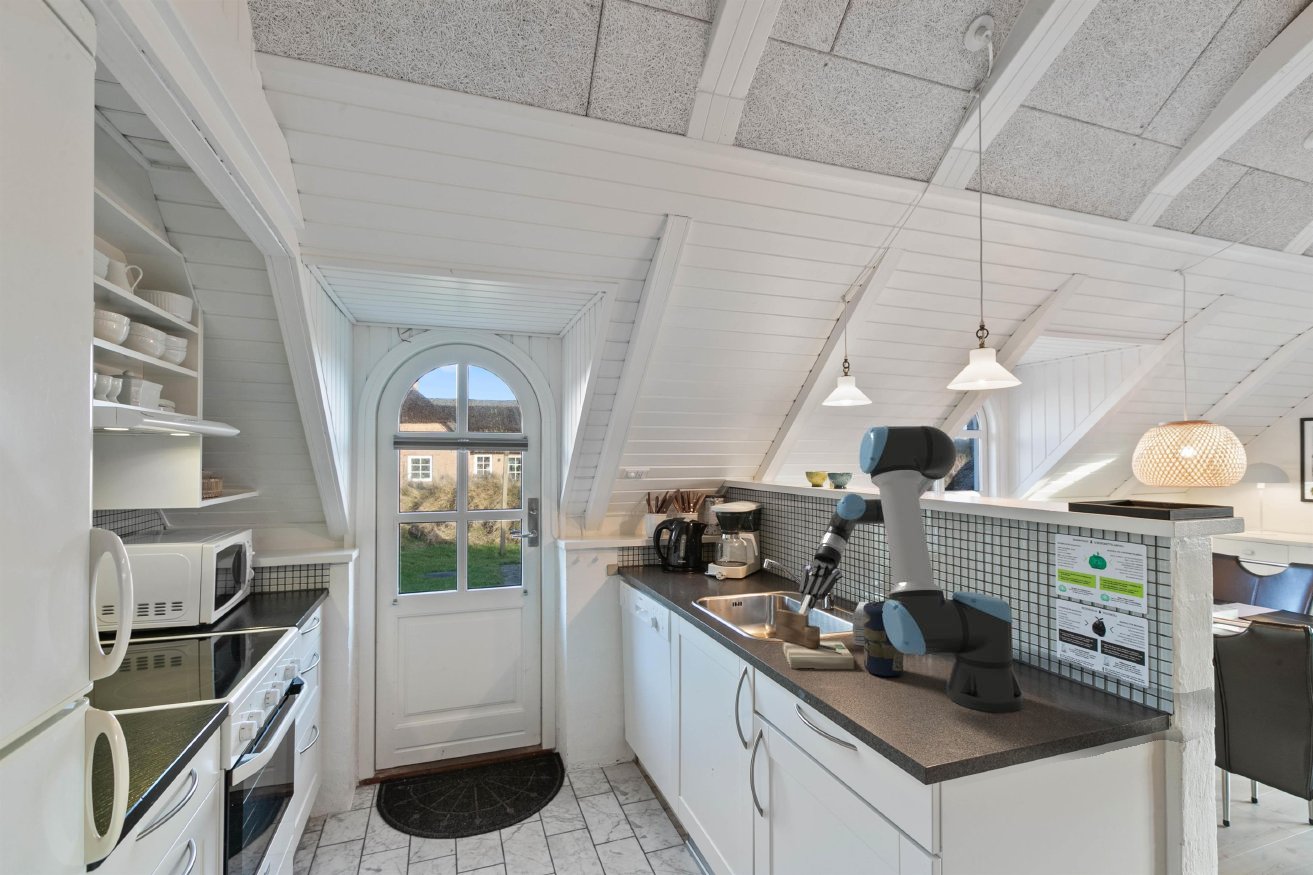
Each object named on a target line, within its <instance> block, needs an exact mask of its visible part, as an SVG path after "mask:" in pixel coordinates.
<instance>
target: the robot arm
mask: <svg viewBox="0 0 1313 875" xmlns="http://www.w3.org/2000/svg"><path fill="white" fill-rule="evenodd" d="M858 456H859V460H858V461H859V468H860V470H861V472H862V473H863V474H864V473H865V474H866V475H870V481H871V484H873V485H874V486H876V487H877V488H878V489H879V490H878V491H879V495H880V498H879V499H878V498H877V499H876V498H874V499H873V498H871V499H869V498H868V499H866V498H863V497H862V496H860V495H858V494H856V493H850V492H849V493H846V494H845V495H843V496H842V498H841V499H840V500H839V501H838V503H837V505H836V508H835V510H834V511H833V513H832V514H831V516H830V520H829V522H828V524H827V527H826V529H825V530H824V531H825V532H824V533H823V536H822V538H821V540H820V542H819V544H818V547H817V549H816V552H814V553H815V554H814V556H813V560H812V561H811V562H810V564H809V565H802V566H801V570H802V573H801V577H800V586H799V590H798V591H799V593H800V594H801V596H802V599H801V601H800V608H799V611H798V613H801V614H807V615H809V614H810V612H811V610H814V608H815V606H816V604H817V601H819V600H821V601H823V600H826V598H827V596H828V595H829V594H830V592H831V590H832V589H834V588H833V587H834V586H835V585H836V583H837V582H838V581H839V580H841V578H843V575H842V572H841V571H840V570H839V569H838V568H839V565H840V562H841V560H842V556H844V552H845V549H846V548H847V545H848V542H849V540H850V538H851V536H852V534H853V532H854V530H855V528H856V526H857V525H884V528H885V534H886V541H887V546H888V552H889V560H890V565H891V566H890V567H891V572H892V573H891V574H892V578H893V584H894V586H893V588H892V589H891V590H890V591H889V593H888V595H889V599H888V600H885V601H886V602H885V603H884V605H883V614H882V616H883V623H884V627H885V630H886V633H887V635H888V638H889V640H890V641H891V643H892V644H893V646H894V647H895V648H896V649H897V650H898V651H900V652H902V653H903V654H907V655H917V656H924V655H940V654H941V655H947V654H948V655H949V654H950V655H951V654H954V656H953V657H954V660H953V664H952V668H951V670H950V673H949V676H948V679H947V682H946V696H947V697H948V698H949V699H950V700H951V701H952V702H955V703H957V704H958V705H961V706H963V707H966V708H968V709H969V708H970V709H973V710H977V711H983V712H990V713H1012V712H1017V711H1019V710H1021V709H1023V708H1024V695H1023V692H1022V690H1021V686H1020V683H1019V681H1018V678H1017V676H1016V673H1015V671H1014V663H1013V631H1012V630H1013V629H1012V627H1013V626H1012V624H1013V619H1012V610H1011V606H1010V605H1009V603H1008V602H1007V601H1006V600H1003V599H1001V598H999V597H996V596H991V595H989V594H988V595H987V594H983V593H980V592H979V593H978V592H973V591H972V592H971V591H965V590H964V591H963V590H962V591H961V590H956V591H953V592H952V594H951V598H952V599H945V596H944V595H945V594H944V590H943V589H942V588H941V587H940V586H938V585H937V584H936V583H935V580H934V574H933V573H934V572H933V568H932V563H931V562H932V561H931V557H930V553H929V552H930V551H929V547H928V542H927V537H926V530H925V525H924V519H923V513H922V509H921V503H920V498H922V496H923V495H925V493H926V492H927V491H928V490H929V488H930V487H931V486H933V484H935V482H936V481H939V480H942V479H944V478H946V476H948V474H949V473H950V472H951V471H952V469H953V467H955V465H956V464H955V463H956V461H957V449H956V446H955V443H954V441H953V440H952V438H951V437H950V436H949V434H947V433H946V432H945V431H943V430H941V429H939V428H937V427H934V426H931V425H918V426H917V425H916V426H915V425H911V426H909V425H907V426H906V425H905V426H903V425H902V426H900V425H899V426H892V425H891V426H890V425H884V426H873V427H870V428H868V429H867V430H866V431H865V433H864V435H863V437H862V439H861V442H860V448H859V455H858ZM809 616H810V615H809Z"/></svg>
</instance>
